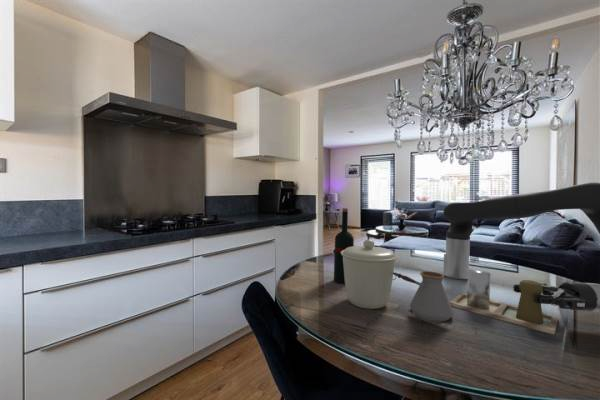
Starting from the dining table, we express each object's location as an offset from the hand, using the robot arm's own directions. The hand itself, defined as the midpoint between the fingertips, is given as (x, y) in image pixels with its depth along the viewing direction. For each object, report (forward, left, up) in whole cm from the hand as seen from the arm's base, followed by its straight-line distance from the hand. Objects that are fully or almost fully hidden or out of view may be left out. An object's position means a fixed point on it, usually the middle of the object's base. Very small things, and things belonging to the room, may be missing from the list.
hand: (524, 293), depth 80 cm
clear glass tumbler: (-11, +1, -7) cm, 14 cm away
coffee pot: (-21, -21, -9) cm, 31 cm away
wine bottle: (-56, -9, -9) cm, 57 cm away
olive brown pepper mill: (+1, 0, -7) cm, 8 cm away
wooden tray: (-5, +1, -8) cm, 10 cm away
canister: (-38, -21, -9) cm, 44 cm away
